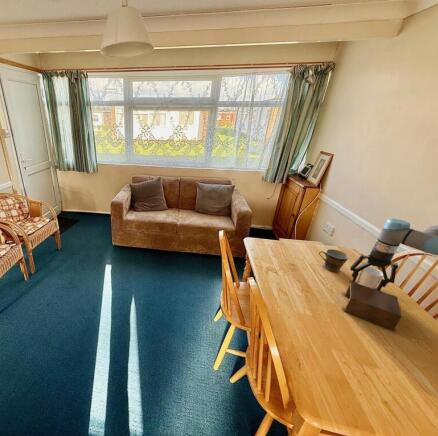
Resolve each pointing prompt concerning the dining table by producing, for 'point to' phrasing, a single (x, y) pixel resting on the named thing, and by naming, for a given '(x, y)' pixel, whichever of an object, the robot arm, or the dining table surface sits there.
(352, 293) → the dark brown wooden box
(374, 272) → the white cup
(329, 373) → the dining table surface
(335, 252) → the ceramic cup
